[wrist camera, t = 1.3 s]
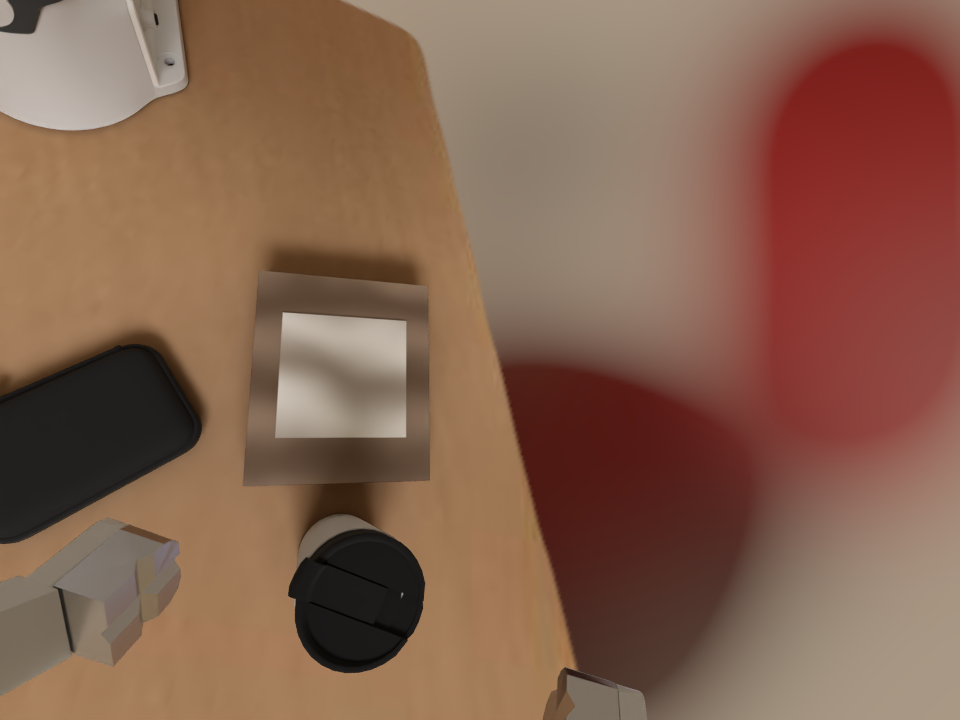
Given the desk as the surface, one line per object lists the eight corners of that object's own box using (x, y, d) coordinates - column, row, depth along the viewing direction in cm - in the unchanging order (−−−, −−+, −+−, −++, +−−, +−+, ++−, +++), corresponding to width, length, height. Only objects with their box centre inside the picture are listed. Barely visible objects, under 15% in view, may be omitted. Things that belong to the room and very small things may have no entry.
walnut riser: (262, 288, 45) (258, 269, 41) (418, 301, 49) (428, 285, 45) (248, 486, 41) (242, 486, 37) (419, 480, 45) (430, 480, 41)
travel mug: (317, 499, 42) (327, 509, 24) (388, 530, 44) (451, 561, 25) (279, 575, 40) (258, 650, 22) (355, 605, 41) (397, 699, 23)
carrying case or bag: (147, 329, 42) (-70, 424, 36) (136, 317, 39) (-102, 418, 33) (214, 440, 41) (5, 554, 35) (208, 436, 38) (-20, 559, 33)
